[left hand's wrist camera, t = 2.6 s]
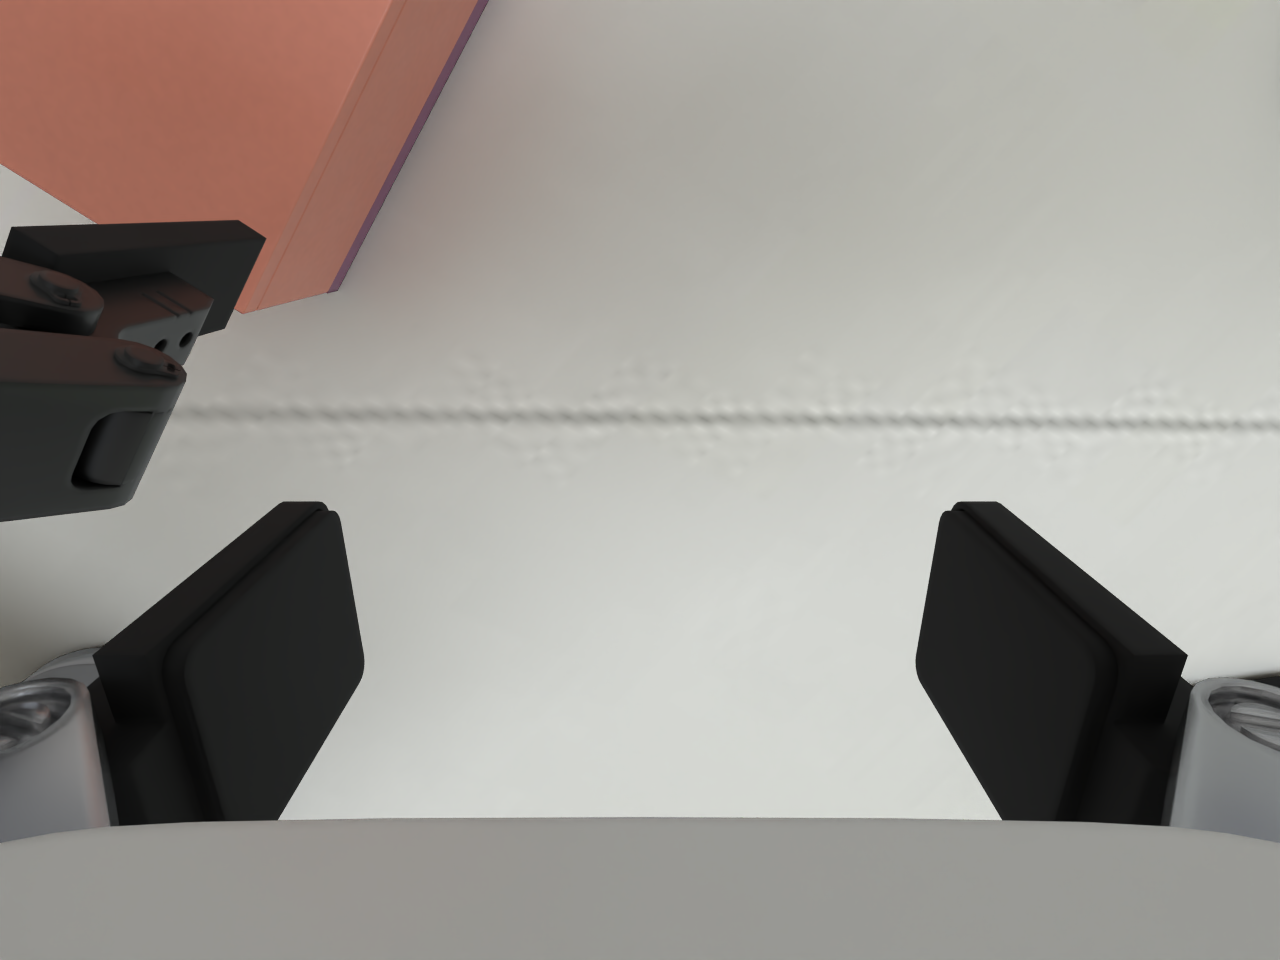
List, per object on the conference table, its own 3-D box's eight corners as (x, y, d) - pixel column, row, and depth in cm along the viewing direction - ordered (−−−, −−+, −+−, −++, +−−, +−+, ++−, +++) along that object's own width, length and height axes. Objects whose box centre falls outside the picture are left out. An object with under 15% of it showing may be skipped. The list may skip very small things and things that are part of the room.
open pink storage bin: (291, -268, 24) (137, -479, 17) (527, -75, 27) (482, -188, 19) (128, 155, 29) (-47, 136, 22) (337, 290, 32) (242, 315, 24)
